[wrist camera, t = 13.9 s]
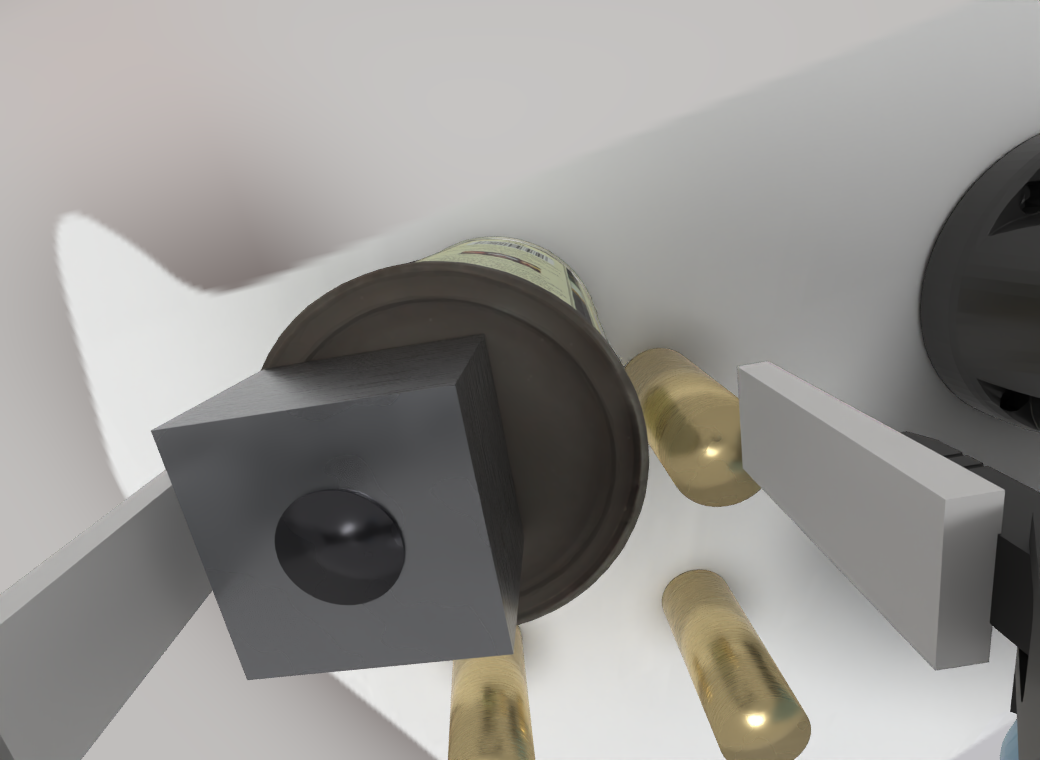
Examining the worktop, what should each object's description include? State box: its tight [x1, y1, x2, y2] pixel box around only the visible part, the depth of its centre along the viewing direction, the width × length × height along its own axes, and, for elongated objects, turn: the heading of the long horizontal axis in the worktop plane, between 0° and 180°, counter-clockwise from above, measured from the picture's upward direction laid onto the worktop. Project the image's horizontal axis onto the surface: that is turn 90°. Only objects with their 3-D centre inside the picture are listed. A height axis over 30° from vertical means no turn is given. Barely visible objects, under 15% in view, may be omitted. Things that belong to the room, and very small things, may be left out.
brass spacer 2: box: [625, 348, 761, 507], centre depth 25 cm, size 4×4×9 cm
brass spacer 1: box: [448, 625, 535, 760], centre depth 29 cm, size 4×4×9 cm
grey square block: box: [151, 334, 524, 680], centre depth 12 cm, size 6×6×4 cm
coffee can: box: [261, 237, 649, 626], centre depth 21 cm, size 10×10×14 cm
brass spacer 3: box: [662, 570, 811, 760], centre depth 28 cm, size 4×4×9 cm
